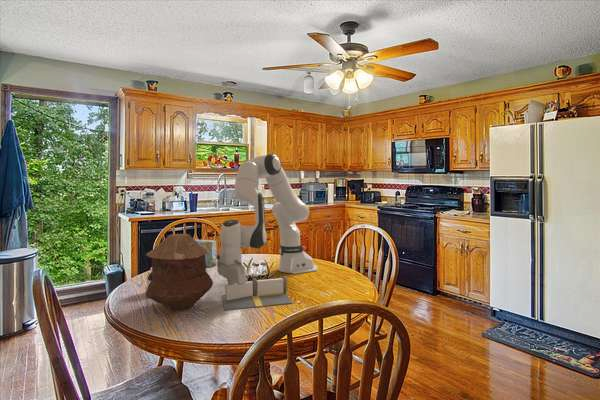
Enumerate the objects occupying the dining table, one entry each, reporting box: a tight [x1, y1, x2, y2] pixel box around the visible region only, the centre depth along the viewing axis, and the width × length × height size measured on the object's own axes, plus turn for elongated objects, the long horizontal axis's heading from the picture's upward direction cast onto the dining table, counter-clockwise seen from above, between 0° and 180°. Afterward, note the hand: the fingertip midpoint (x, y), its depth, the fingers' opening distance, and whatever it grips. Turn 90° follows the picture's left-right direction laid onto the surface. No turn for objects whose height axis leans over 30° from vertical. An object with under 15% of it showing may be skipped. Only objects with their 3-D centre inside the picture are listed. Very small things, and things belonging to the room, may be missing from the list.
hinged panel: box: [224, 280, 253, 300], centre depth 153 cm, size 12×2×6 cm, turn 121°
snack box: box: [193, 238, 217, 268], centre depth 210 cm, size 21×6×15 cm, turn 71°
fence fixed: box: [252, 275, 287, 296], centre depth 158 cm, size 15×2×7 cm, turn 106°
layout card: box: [221, 292, 293, 311], centre depth 153 cm, size 28×18×1 cm, turn 106°
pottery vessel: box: [145, 233, 214, 312], centre depth 144 cm, size 26×26×30 cm
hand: (231, 289), depth 153 cm, fingers closed
